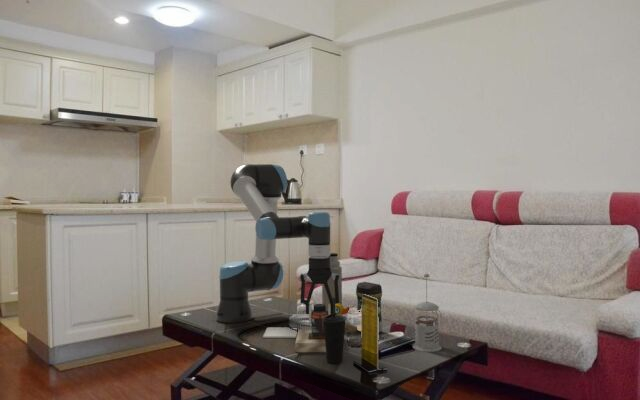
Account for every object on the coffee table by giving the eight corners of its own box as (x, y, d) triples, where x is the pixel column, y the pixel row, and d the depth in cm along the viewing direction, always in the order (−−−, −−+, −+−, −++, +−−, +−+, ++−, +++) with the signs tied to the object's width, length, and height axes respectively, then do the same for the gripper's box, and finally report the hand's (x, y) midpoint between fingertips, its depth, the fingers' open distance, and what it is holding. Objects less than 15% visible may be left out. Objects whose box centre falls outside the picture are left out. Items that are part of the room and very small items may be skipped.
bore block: (295, 352, 168) (295, 343, 168) (298, 338, 184) (298, 329, 184) (343, 352, 168) (343, 343, 168) (342, 337, 184) (342, 329, 184)
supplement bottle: (331, 336, 178) (331, 303, 177) (324, 340, 172) (324, 307, 172) (315, 334, 180) (315, 302, 180) (308, 338, 175) (308, 305, 174)
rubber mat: (263, 338, 185) (263, 336, 185) (267, 328, 197) (267, 327, 197) (296, 338, 184) (296, 336, 184) (298, 328, 196) (298, 327, 196)
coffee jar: (352, 331, 192) (352, 282, 192) (366, 327, 198) (366, 279, 197) (372, 336, 185) (371, 285, 185) (385, 332, 191) (385, 282, 190)
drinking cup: (318, 359, 161) (318, 296, 160) (340, 356, 164) (339, 294, 163) (328, 367, 154) (327, 301, 153) (351, 363, 157) (350, 298, 156)
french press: (406, 346, 173) (405, 273, 173) (428, 340, 180) (428, 269, 180) (428, 353, 165) (428, 277, 165) (451, 346, 173) (451, 273, 172)
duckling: (351, 328, 197) (351, 302, 197) (347, 331, 192) (347, 305, 191) (323, 326, 200) (322, 300, 200) (319, 329, 195) (318, 303, 195)
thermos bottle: (323, 320, 209) (322, 252, 209) (342, 320, 208) (342, 252, 208) (321, 325, 201) (320, 254, 201) (341, 325, 200) (340, 254, 200)
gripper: (291, 258, 172) (291, 326, 173) (347, 258, 171) (347, 326, 172) (293, 255, 179) (293, 320, 180) (346, 255, 179) (347, 320, 180)
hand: (319, 323), depth 176 cm, fingers closed on supplement bottle, 6 cm apart
